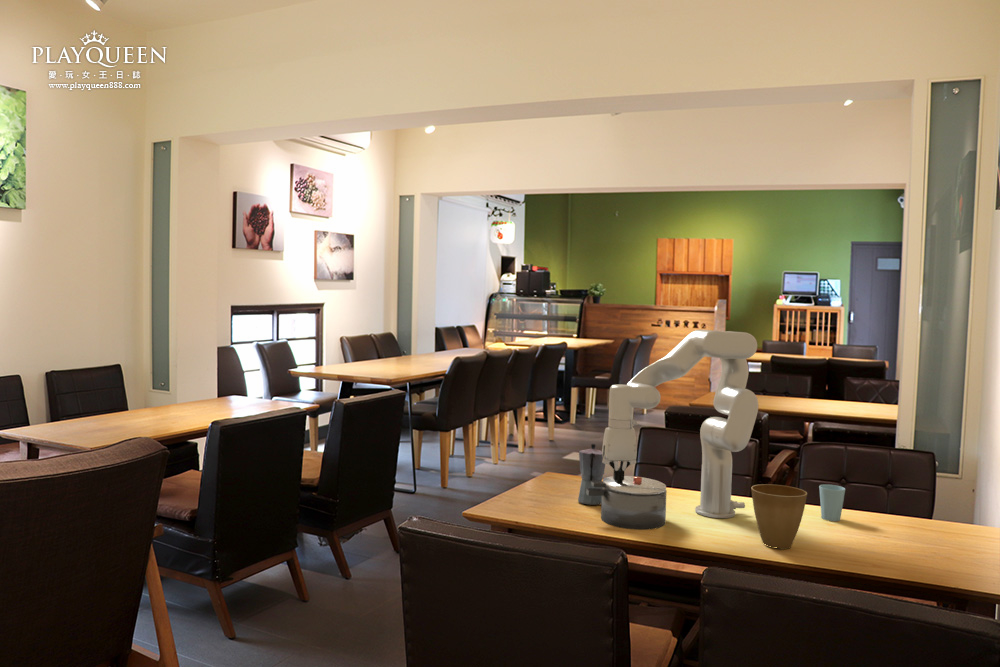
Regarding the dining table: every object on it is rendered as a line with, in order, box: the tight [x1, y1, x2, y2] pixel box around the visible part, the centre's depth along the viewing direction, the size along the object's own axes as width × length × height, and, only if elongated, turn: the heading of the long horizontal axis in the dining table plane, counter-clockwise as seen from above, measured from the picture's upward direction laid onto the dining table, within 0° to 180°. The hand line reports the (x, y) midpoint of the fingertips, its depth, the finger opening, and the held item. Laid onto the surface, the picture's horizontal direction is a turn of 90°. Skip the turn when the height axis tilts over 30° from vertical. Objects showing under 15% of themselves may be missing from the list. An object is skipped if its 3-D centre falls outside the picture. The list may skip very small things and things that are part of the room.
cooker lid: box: [591, 475, 667, 495], centre depth 228 cm, size 23×20×3 cm
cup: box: [818, 484, 846, 522], centre depth 236 cm, size 8×8×10 cm
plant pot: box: [750, 483, 808, 549], centre depth 207 cm, size 15×15×16 cm
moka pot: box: [577, 443, 606, 506], centre depth 247 cm, size 10×15×20 cm, turn 174°
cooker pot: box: [586, 487, 668, 531], centre depth 228 cm, size 25×20×10 cm
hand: (618, 482), depth 227 cm, fingers closed
